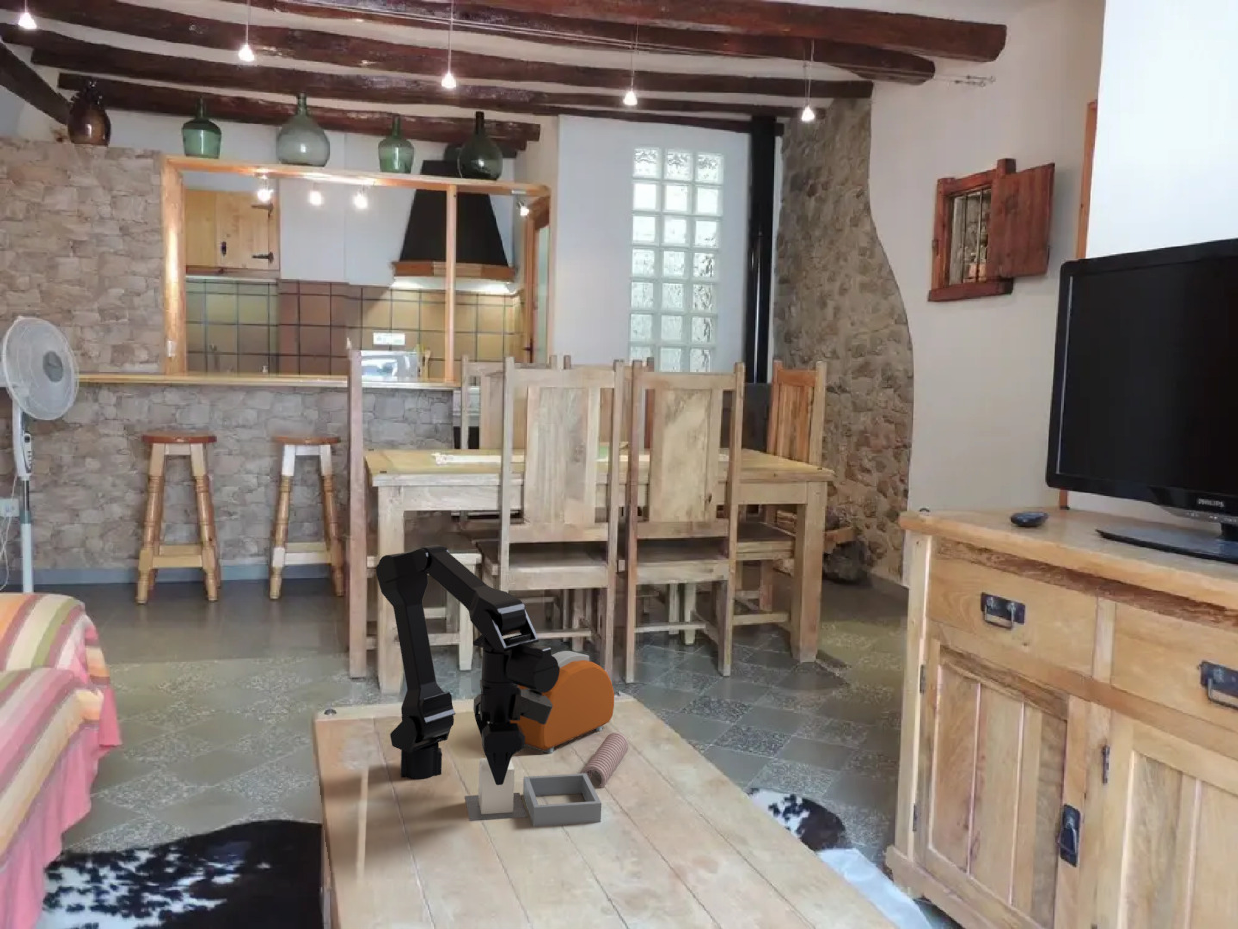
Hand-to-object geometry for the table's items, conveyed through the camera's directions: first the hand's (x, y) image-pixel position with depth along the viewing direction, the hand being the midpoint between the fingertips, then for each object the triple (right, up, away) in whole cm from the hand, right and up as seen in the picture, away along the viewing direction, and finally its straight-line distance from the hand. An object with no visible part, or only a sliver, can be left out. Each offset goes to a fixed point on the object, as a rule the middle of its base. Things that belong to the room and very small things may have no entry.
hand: (496, 772), depth 152 cm
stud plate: (0, -7, 0) cm, 7 cm away
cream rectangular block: (0, -6, 0) cm, 6 cm away
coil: (+17, -6, +18) cm, 26 cm away
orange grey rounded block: (+8, -4, +34) cm, 36 cm away
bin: (+10, -7, +1) cm, 12 cm away
